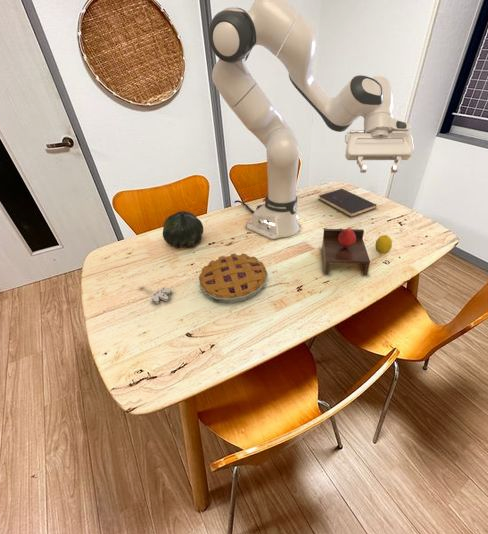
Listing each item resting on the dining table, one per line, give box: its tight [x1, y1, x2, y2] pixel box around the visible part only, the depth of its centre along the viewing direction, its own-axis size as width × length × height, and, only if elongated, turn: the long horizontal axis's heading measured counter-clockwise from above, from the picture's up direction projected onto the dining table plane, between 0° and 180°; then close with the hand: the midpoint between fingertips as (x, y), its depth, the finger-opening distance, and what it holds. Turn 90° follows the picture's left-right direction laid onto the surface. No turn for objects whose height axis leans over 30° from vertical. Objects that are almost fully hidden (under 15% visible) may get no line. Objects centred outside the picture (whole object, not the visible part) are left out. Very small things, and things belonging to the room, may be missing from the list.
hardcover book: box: [318, 188, 377, 218], centre depth 135 cm, size 16×23×2 cm
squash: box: [162, 210, 204, 249], centre depth 106 cm, size 14×15×15 cm
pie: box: [198, 253, 269, 304], centre depth 89 cm, size 22×22×5 cm
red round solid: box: [338, 226, 356, 248], centre depth 92 cm, size 6×6×8 cm
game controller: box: [140, 287, 171, 305], centre depth 86 cm, size 6×12×3 cm, turn 79°
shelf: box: [321, 228, 371, 277], centre depth 96 cm, size 15×14×9 cm
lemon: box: [374, 234, 393, 255], centre depth 100 cm, size 6×6×8 cm
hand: (378, 172), depth 86 cm, fingers open, 8 cm apart
